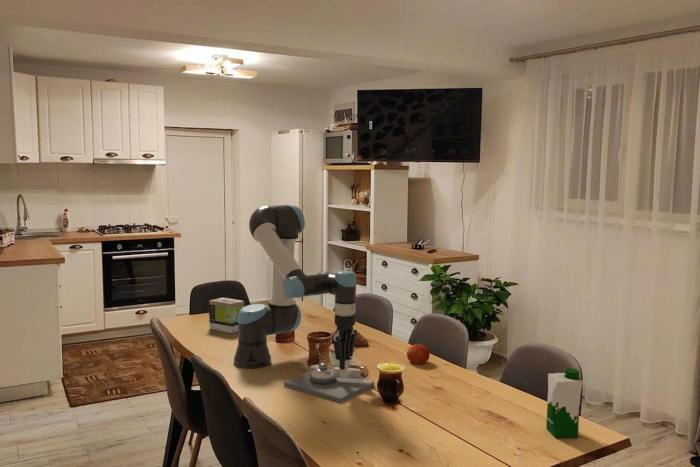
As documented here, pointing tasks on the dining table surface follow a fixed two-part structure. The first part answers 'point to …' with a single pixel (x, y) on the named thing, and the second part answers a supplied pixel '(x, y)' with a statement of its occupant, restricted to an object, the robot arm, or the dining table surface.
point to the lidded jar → (333, 358)
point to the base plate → (330, 387)
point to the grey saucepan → (333, 373)
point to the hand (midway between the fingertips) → (343, 377)
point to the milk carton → (564, 403)
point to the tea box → (224, 314)
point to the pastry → (356, 339)
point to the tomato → (418, 353)
